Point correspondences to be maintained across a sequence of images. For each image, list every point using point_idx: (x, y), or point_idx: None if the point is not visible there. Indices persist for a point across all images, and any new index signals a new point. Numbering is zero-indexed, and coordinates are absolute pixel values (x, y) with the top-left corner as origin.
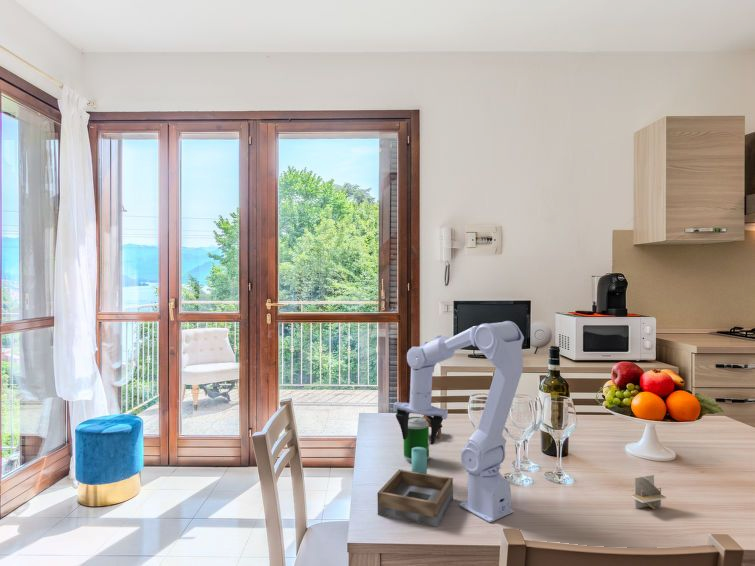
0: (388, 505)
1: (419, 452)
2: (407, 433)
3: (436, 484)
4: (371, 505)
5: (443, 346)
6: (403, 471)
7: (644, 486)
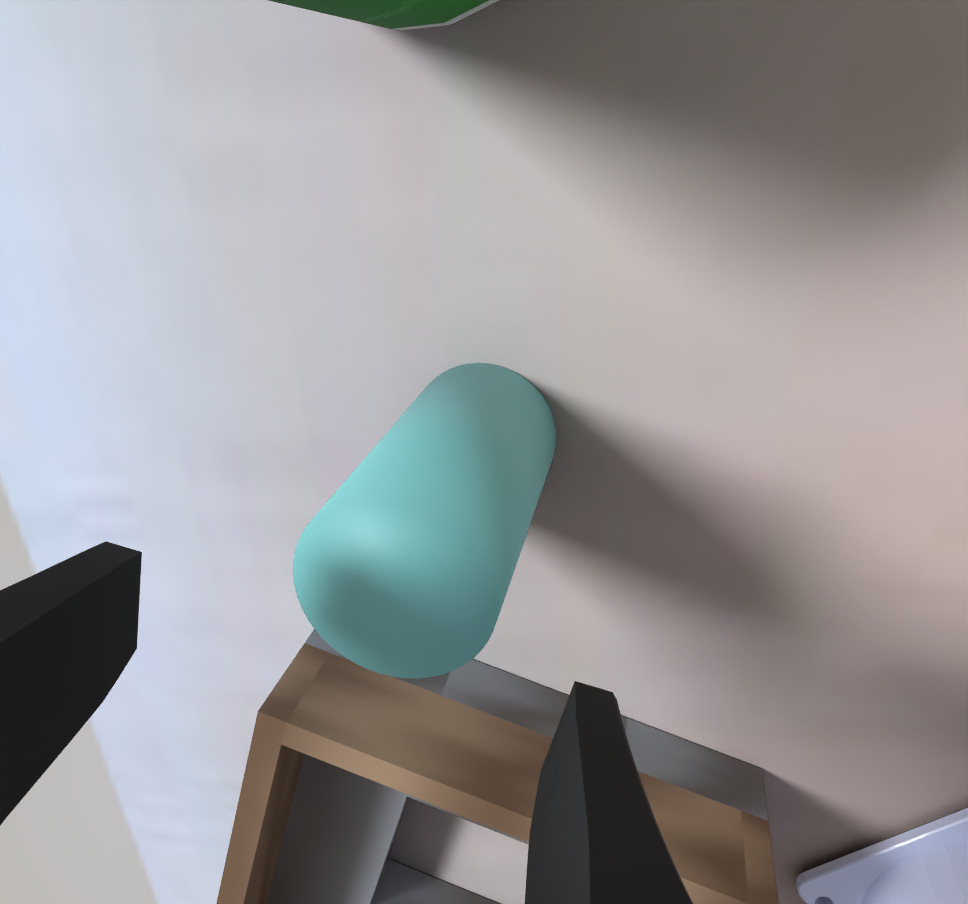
0: None
1: (407, 677)
2: (103, 602)
3: None
4: (198, 797)
5: None
6: (305, 752)
7: None
